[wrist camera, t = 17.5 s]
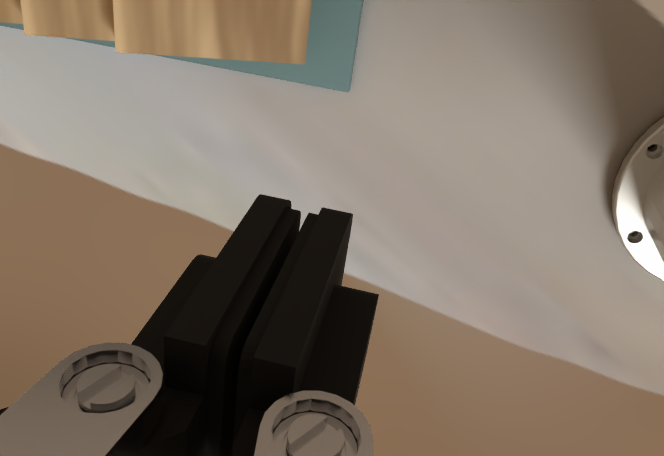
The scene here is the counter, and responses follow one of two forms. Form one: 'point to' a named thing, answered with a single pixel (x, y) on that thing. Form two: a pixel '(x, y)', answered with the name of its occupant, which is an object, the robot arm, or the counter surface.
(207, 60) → the board
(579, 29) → the counter surface
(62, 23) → the domino
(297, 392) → the robot arm
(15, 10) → the domino
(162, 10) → the domino
